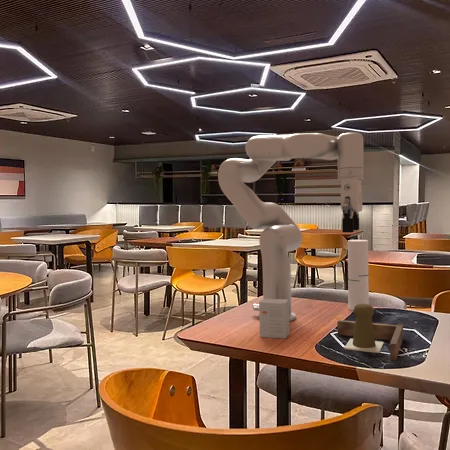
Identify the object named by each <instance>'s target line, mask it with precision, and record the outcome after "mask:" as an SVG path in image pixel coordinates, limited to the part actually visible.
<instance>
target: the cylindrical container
mask: <svg viewBox="0 0 450 450" xmlns="http://www.w3.org/2000/svg"><path fill="white" fill-rule="evenodd" d="M347 283H348V284H347V287H348V288H347V291H348V292H347V296H348V299H347V301H348V310H350V311H354V307H355V306H356V305H358V304H368V305H370V303H369V299H370V298H369V296H370V295H369V294H370V292H369V288H370V287H369V286H370V285H369V240H368V239H349V240H347Z"/></svg>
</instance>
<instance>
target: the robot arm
mask: <svg viewBox="0 0 450 450" xmlns="http://www.w3.org/2000/svg"><path fill="white" fill-rule="evenodd" d="M244 147H245V152H246V154H247V156H248V157H249V159H247V158H238V157H234V158H233V157H232V158H228V159H226V160H224V161H223V162H221V164H220V166H219V169H218V172H217V173H218V174H217V179H218V185H219V187H220V190H221V191H222V193H223V194H224V195H225V196H226V198H227V199H228V200H229V201H230V202H231V204H232V205H233V206H234V208H235V209H236V210H237V212H238V214H240V215H241V217H242V218H243V219H244V221H245V222H246V223H247V225H248V226H249V227H250V228H251V229H253V230H256V231H258V230H262V232H261V233H260V236H259V248H260V253H261V261H262V262H261V263H262V294H263V296H262V300H263V299H288V300H289V322H291V321H294V320H295V319H297V313H295V312H292V271H291V269H292V268H291V260H290V256H289V254H288V252H293V251H295V250H298V249H299V248H300V247H301V246H302V243H303V234H302V230H300V228H299V226H298V225H297V224H296V223H295V221H294V220H293V218H291V217H290V215H289V214H288V213H287V212H286V211H285V209H284V208H283V207H282V206H280V205H279V204H277V203H276V202H270V201H269V202H268V201H267V202H264V201H262V200H261V199H260V198H259V196H257V194H256V193H255V192H254V190H253V189H252V188H250V187H249V186H248V185H247V184H245V183H255V182H256V181H258V180H260V178H262V177H263V176H264V175H265V173H266V172H267V171H269V169H271V167H273V166H274V164H276V162H277V161H279V162H280V161H281V162H285V161H286V162H287V161H288V162H289V161H291V160H292V159H317V160H318V159H319V160H324V161H335V160H337V180H338V181H340V210H341V212H342V215H341V216H342V218H341V223H342V224H341V230H342V233H354V231H359V230H360V214H359V213H360V212H362V211H363V196H362V195H363V192H362V181H361V180H364V136H363V134H362V133H360V132H345V133H344V132H343V133H340V135H338V136H334V135H329V134H325V133H318V132H315V133H314V132H313V133H312V132H311V133H293V134H273V135H272V134H271V135H269V134H268V135H267V134H266V135H255V136H252V137H250V138H249V139H248V140H247V142H246V144H245V146H244ZM252 310H253V311H257V312H259V303H258V304H257V303H253V304H252Z"/></svg>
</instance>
